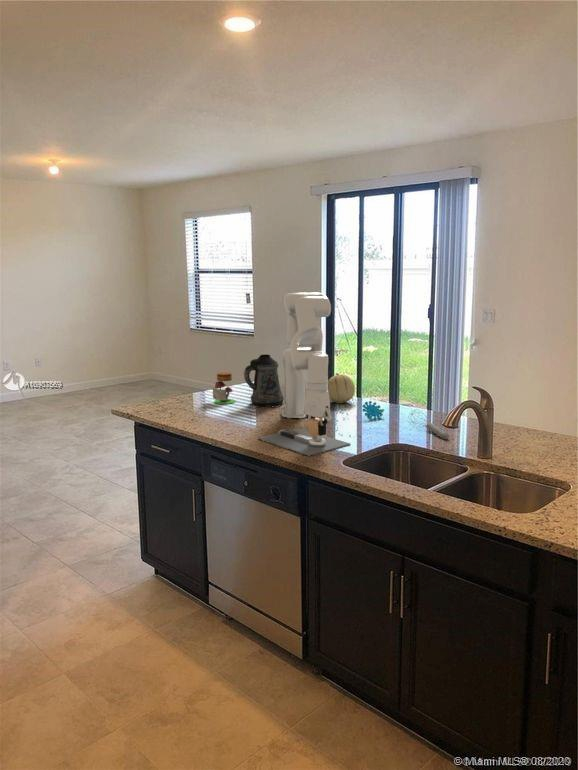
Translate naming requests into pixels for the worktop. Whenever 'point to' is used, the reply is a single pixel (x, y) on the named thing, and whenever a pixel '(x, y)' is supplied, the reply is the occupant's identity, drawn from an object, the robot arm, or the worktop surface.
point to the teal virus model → (372, 410)
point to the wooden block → (314, 427)
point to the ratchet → (304, 438)
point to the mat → (302, 446)
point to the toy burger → (220, 393)
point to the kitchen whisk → (432, 427)
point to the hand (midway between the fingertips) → (317, 433)
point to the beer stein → (264, 382)
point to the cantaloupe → (340, 388)
